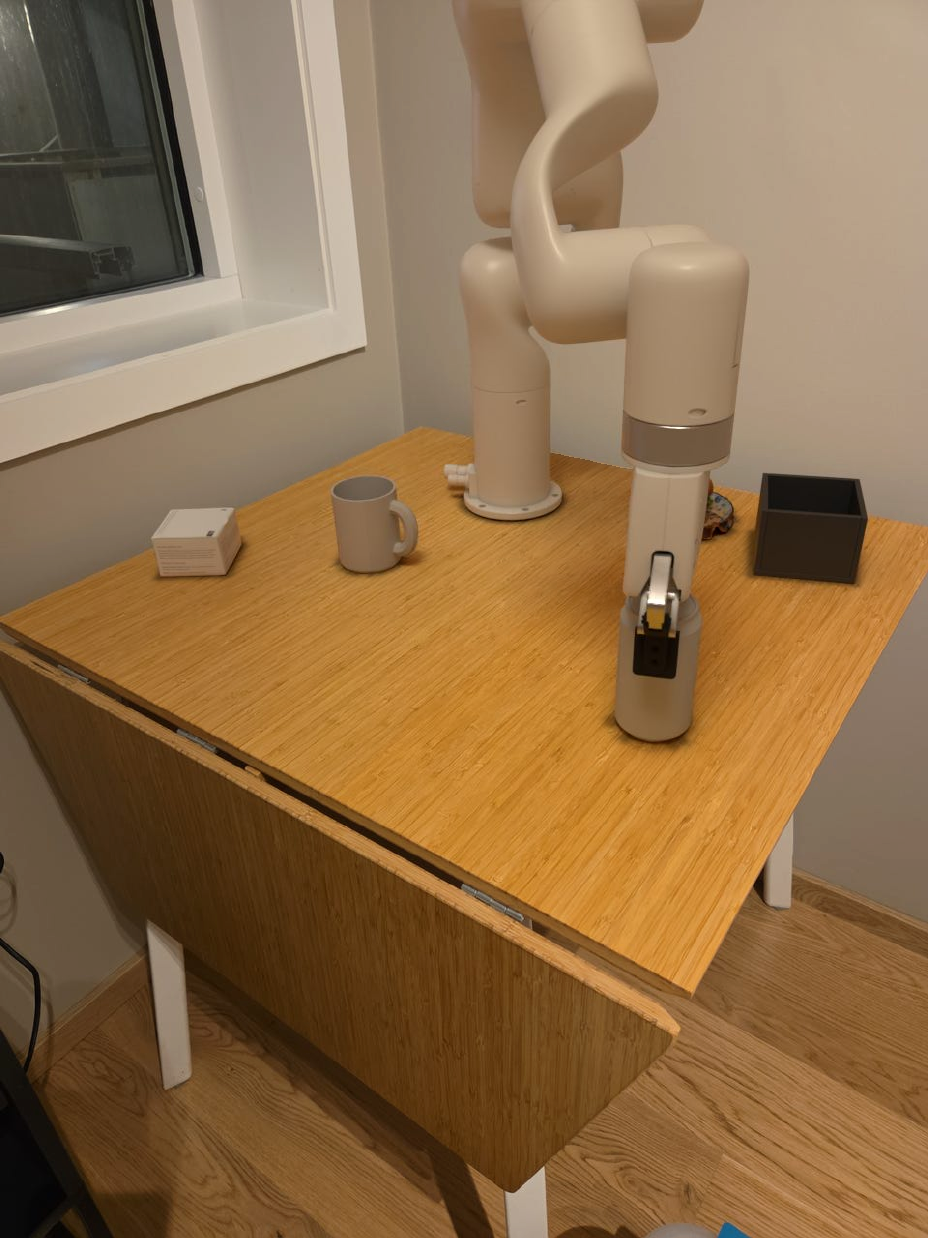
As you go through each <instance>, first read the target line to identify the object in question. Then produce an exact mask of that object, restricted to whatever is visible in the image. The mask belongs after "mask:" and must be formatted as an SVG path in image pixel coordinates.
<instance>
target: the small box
mask: <svg viewBox="0 0 928 1238" xmlns="http://www.w3.org/2000/svg"><path fill="white" fill-rule="evenodd" d="M236 513H237V512H236V508H235V507H205V508H181V509H180V508H179V509H174V508H173V509H170V511H169V512H168V513H167V514H166V516H165V517H164V519H163V520H162V522H161V524H160V525H158V528H157V529H156V530H155V532H154V533H153V535H152V536H151V537H150V540H151V544H152V548H153V552H154V556H155V560H156V565H157V568H158V572H159V575H160V577H164V578H165V577H166V578H167V577H168V578H170V577H171V578H173V577H175V578H177V577H207V576H208V577H210V576H211V577H212V576H226V575H227V573H228V571H229V570H230V568H231V565H232V563H233V562H234V560H235V558H236V556H237V554H238V552H239V550H240V548H241V547H242V544H243V543H242V538H241V533H240V529H239V524H238V523H239V522H238V519H237V514H236Z"/></svg>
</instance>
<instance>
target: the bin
mask: <svg viewBox="0 0 928 1238" xmlns="http://www.w3.org/2000/svg"><path fill="white" fill-rule="evenodd" d="M757 504H758V505H757V511H756V512H757V513H756V519H755V525H754V532H753V533H754V534H753V566H752V567H753V569H752V570H753V571H752V574H753V576H763V577H774V578H785V579H796V580H797V579H798V580H809V581H818V582H819V581H820V582H829V583H830V582H831V583H842V584H850V585H851V584H852V585H855V582H856V578H857V574H858V570H859V564H860V558H861V554H862V550H863V545H864V541H865V536H866V531H867V526H868V522H869V516H868V511H867V507H866V502H865V498H864V493H863V487H862V483H861V479H860V478H853V477H837V476H821V475H805V474H788V473H773V472H762V475H761V483H760V490H759V496H758V503H757Z"/></svg>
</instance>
